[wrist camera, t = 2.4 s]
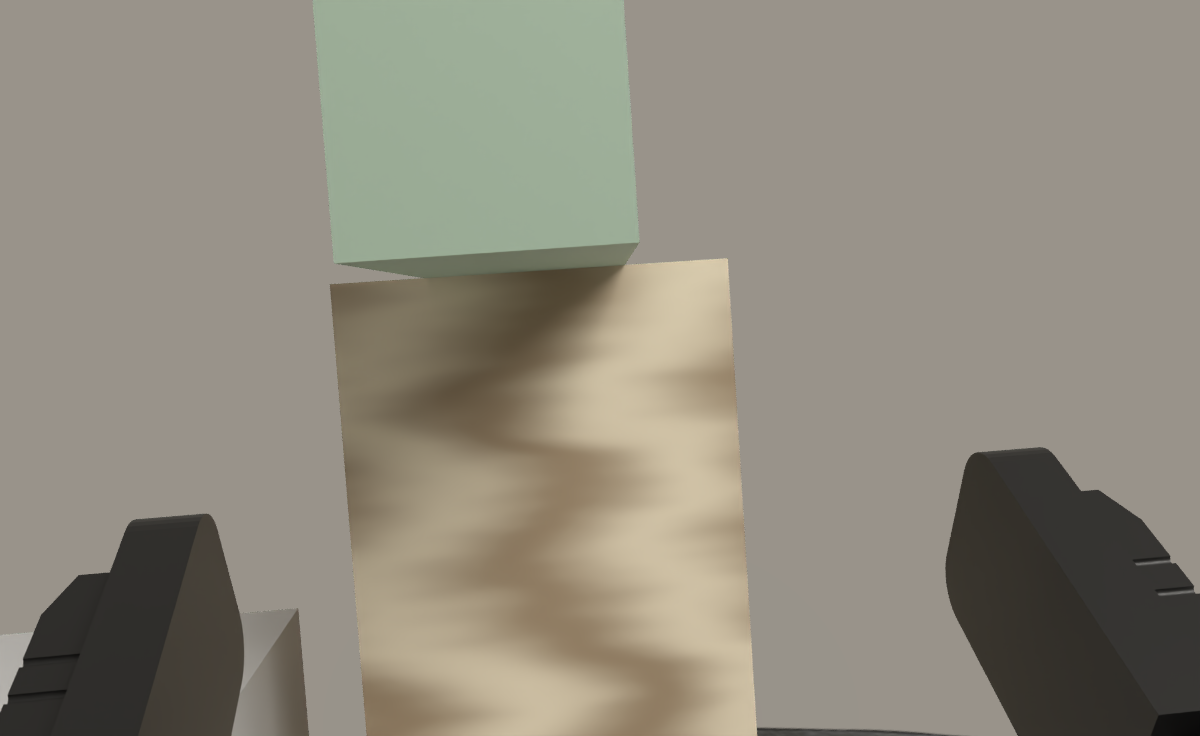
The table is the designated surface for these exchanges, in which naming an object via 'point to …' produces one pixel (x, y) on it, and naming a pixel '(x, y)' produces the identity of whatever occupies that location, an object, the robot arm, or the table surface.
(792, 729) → the table surface
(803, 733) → the table surface
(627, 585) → the zigzag patterned pillar
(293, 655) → the ledge
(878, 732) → the table surface
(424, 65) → the pale green block bar
